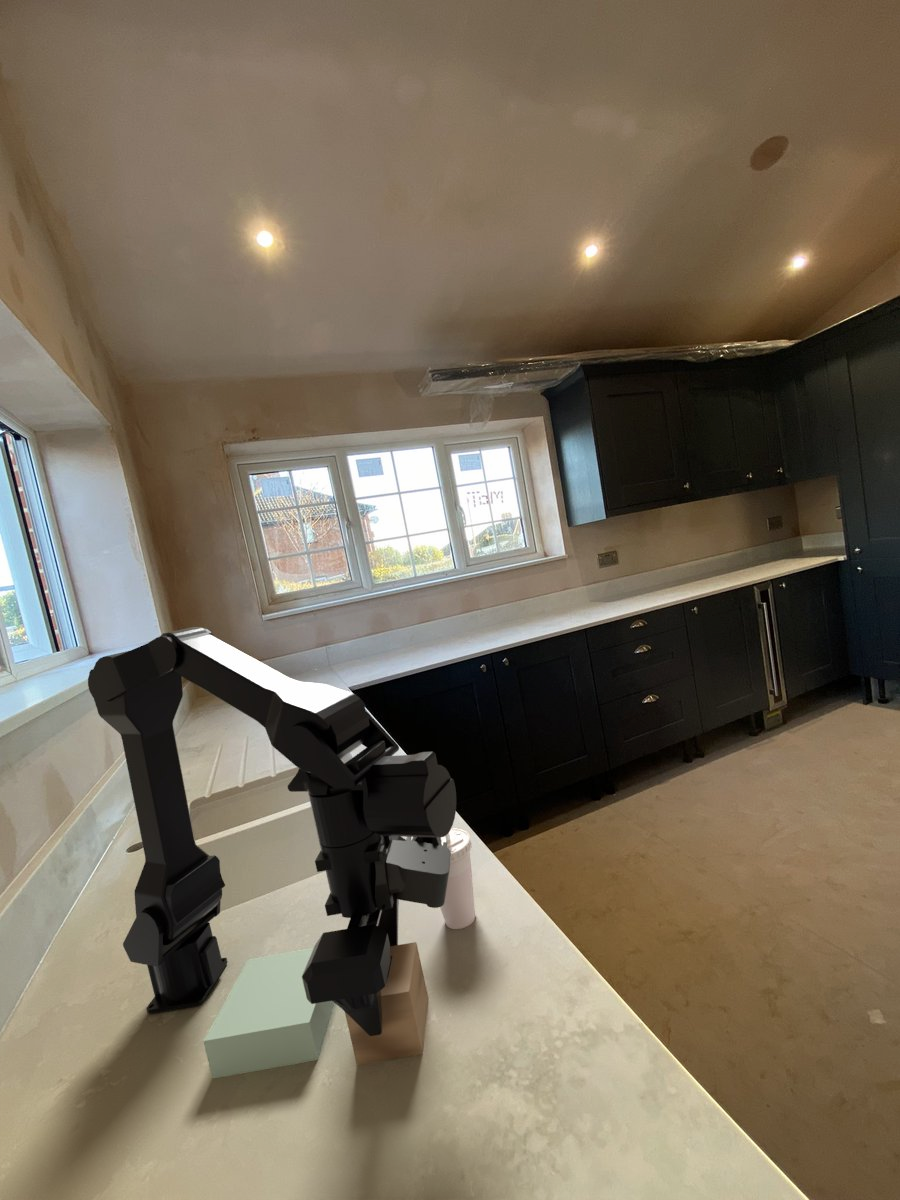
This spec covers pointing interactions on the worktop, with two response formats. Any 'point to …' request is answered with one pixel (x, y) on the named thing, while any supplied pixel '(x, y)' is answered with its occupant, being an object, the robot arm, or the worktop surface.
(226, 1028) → the sage box
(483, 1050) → the worktop surface
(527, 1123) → the worktop surface
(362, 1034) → the walnut cube
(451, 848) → the smoothie
